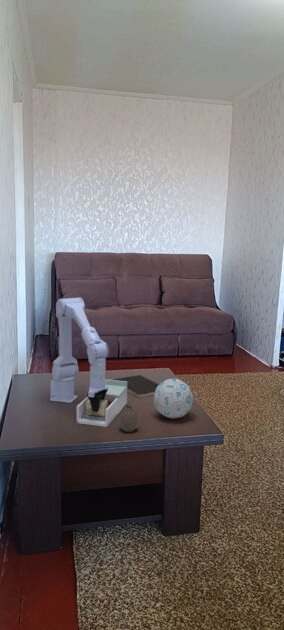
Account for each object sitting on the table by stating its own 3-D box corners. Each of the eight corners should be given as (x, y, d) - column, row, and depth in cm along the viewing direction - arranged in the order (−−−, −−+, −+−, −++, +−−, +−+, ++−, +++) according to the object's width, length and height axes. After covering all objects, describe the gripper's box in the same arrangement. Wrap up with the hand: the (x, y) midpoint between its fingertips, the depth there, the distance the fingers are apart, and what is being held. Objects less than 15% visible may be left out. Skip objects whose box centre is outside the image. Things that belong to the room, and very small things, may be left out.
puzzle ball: (158, 425, 172) (159, 386, 170) (149, 410, 187) (150, 374, 184) (197, 423, 175) (199, 384, 173) (185, 408, 190) (187, 373, 187)
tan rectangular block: (86, 414, 176) (86, 401, 175) (90, 410, 180) (90, 398, 179) (104, 416, 174) (104, 403, 173) (107, 412, 178) (107, 400, 177)
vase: (131, 435, 163) (131, 411, 162) (115, 430, 167) (115, 407, 165) (141, 428, 169) (142, 405, 168) (125, 424, 173) (126, 401, 171)
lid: (88, 394, 184) (88, 387, 184) (98, 384, 196) (98, 378, 195) (118, 397, 181) (118, 390, 181) (127, 387, 193) (127, 381, 192)
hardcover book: (137, 399, 201) (138, 393, 201) (112, 384, 220) (112, 379, 220) (168, 393, 210) (168, 388, 209) (141, 379, 229) (141, 374, 228)
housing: (76, 423, 173) (76, 406, 172) (99, 400, 197) (99, 385, 196) (107, 427, 170) (107, 410, 169) (126, 403, 194) (127, 388, 193)
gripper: (101, 381, 166) (101, 417, 169) (113, 370, 180) (113, 403, 182) (82, 379, 168) (82, 415, 170) (96, 368, 182) (96, 401, 184)
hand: (97, 409), depth 176 cm, fingers closed on tan rectangular block, 4 cm apart
